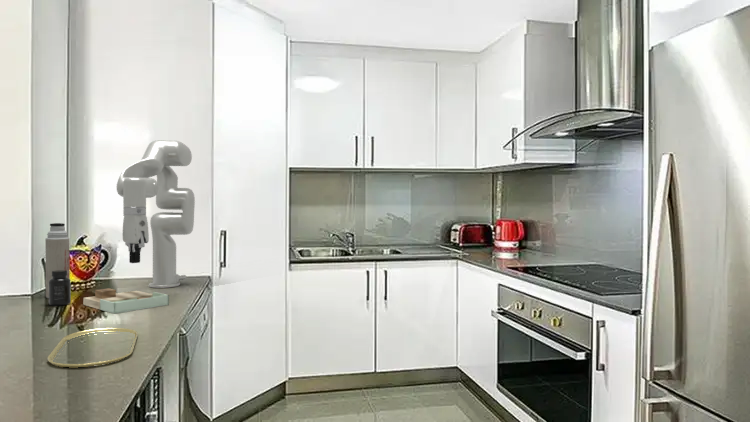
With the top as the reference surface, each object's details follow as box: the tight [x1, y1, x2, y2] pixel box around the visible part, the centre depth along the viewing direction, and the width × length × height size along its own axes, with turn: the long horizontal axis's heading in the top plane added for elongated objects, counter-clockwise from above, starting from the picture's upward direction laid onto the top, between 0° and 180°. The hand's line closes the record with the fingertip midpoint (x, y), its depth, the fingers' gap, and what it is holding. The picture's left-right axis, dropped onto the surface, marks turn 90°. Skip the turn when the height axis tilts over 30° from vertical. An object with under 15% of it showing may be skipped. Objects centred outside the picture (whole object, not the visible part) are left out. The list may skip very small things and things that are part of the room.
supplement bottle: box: [48, 270, 72, 307], centre depth 200 cm, size 7×7×12 cm
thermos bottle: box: [45, 222, 71, 299], centre depth 215 cm, size 8×8×28 cm
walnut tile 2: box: [94, 288, 117, 299], centre depth 202 cm, size 5×5×2 cm
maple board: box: [82, 290, 153, 310], centre depth 204 cm, size 20×12×2 cm, turn 142°
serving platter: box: [47, 327, 138, 369], centre depth 146 cm, size 19×35×2 cm, turn 19°
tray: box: [99, 291, 170, 314], centre depth 198 cm, size 20×10×4 cm, turn 142°
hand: (134, 262), depth 203 cm, fingers closed
